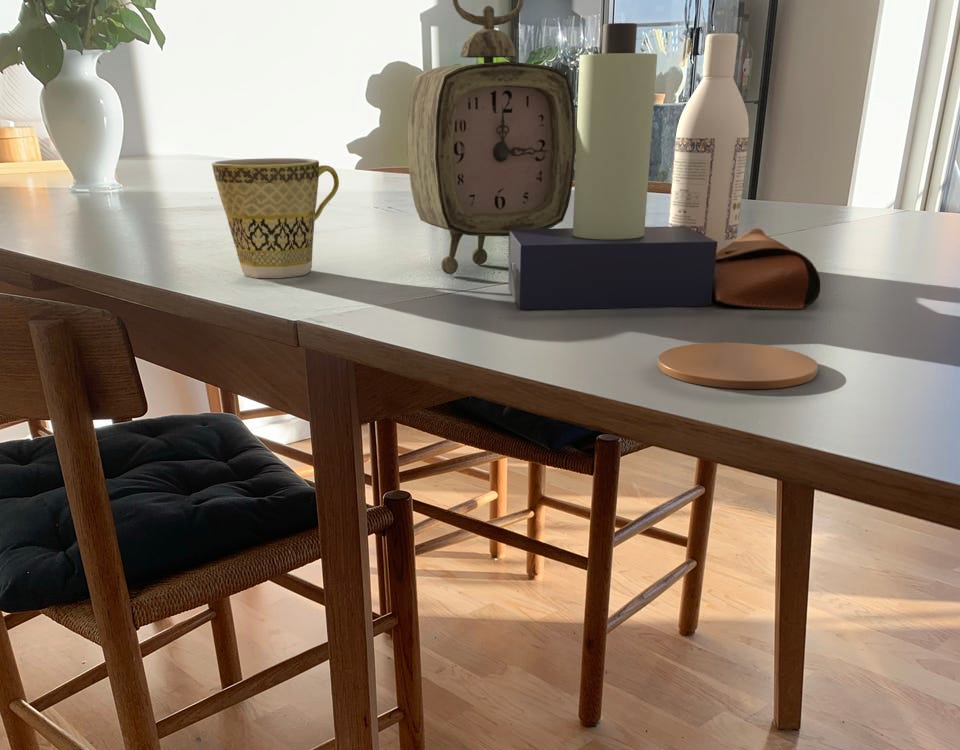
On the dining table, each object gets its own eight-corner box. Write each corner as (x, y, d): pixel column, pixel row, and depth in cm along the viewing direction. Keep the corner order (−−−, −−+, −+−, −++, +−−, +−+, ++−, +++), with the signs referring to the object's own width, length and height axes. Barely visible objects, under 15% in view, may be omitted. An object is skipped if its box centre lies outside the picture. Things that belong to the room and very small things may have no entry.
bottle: (635, 229, 83) (649, 26, 75) (651, 239, 78) (668, 21, 70) (567, 231, 82) (575, 26, 75) (578, 240, 77) (587, 21, 70)
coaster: (784, 348, 66) (786, 340, 65) (842, 387, 57) (843, 378, 57) (643, 351, 65) (643, 344, 65) (679, 391, 57) (680, 383, 56)
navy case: (681, 284, 87) (687, 226, 85) (712, 306, 79) (719, 241, 76) (507, 288, 86) (507, 229, 84) (518, 310, 78) (519, 245, 75)
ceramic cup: (259, 285, 89) (244, 166, 84) (208, 272, 95) (192, 161, 90) (371, 269, 96) (365, 159, 91) (318, 258, 102) (309, 155, 97)
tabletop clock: (438, 279, 90) (429, -40, 78) (405, 266, 98) (392, -29, 85) (571, 268, 96) (582, -34, 83) (530, 256, 103) (535, -23, 90)
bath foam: (718, 256, 101) (743, 35, 91) (744, 267, 95) (773, 32, 85) (656, 259, 100) (674, 36, 90) (678, 269, 94) (700, 32, 84)
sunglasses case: (678, 266, 92) (720, 202, 89) (735, 304, 94) (779, 242, 91) (716, 303, 77) (768, 226, 74) (783, 347, 79) (837, 274, 76)
